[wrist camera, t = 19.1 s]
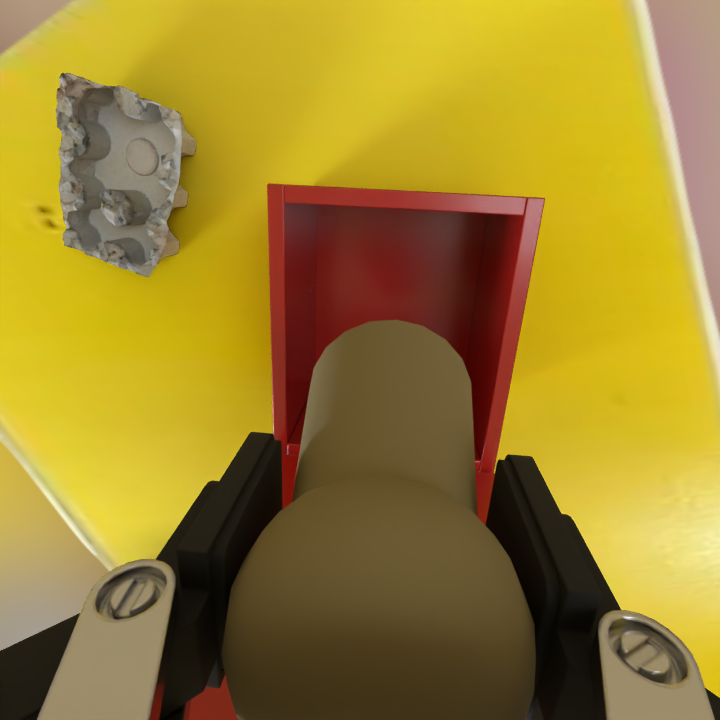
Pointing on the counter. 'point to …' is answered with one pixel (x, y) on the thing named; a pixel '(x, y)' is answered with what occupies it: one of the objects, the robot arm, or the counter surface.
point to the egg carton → (119, 173)
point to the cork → (381, 555)
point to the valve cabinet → (398, 286)
